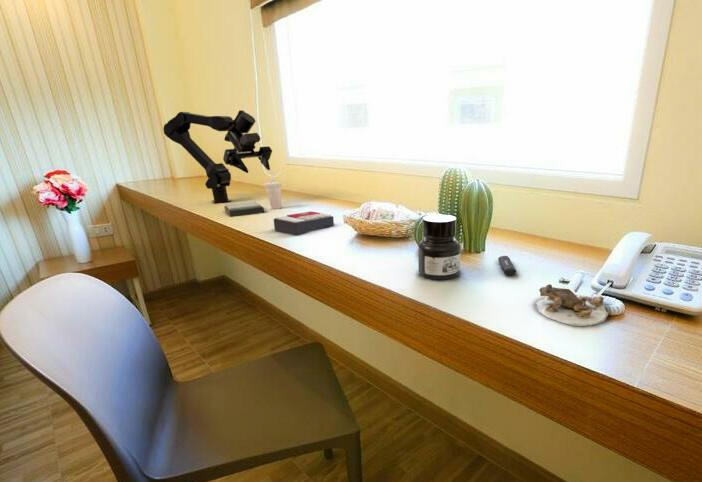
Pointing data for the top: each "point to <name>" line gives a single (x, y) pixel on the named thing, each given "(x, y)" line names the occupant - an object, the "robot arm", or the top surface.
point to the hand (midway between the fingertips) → (258, 170)
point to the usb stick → (507, 265)
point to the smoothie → (274, 193)
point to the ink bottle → (439, 248)
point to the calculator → (302, 222)
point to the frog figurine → (571, 307)
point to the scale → (243, 208)
